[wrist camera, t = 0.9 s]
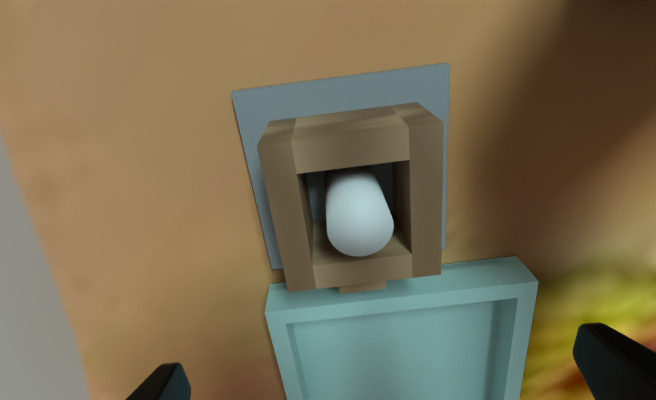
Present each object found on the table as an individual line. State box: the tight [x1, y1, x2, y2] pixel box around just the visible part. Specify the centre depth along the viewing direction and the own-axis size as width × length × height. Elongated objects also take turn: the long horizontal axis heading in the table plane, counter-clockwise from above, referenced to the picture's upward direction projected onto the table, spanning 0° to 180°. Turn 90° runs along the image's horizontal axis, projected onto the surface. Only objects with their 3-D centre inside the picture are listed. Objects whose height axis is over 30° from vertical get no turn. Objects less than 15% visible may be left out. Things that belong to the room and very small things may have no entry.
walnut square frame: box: [257, 102, 444, 294], centre depth 17 cm, size 7×9×4 cm
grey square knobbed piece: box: [231, 63, 450, 269], centre depth 17 cm, size 10×10×6 cm
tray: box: [264, 256, 539, 400], centre depth 24 cm, size 15×15×2 cm
